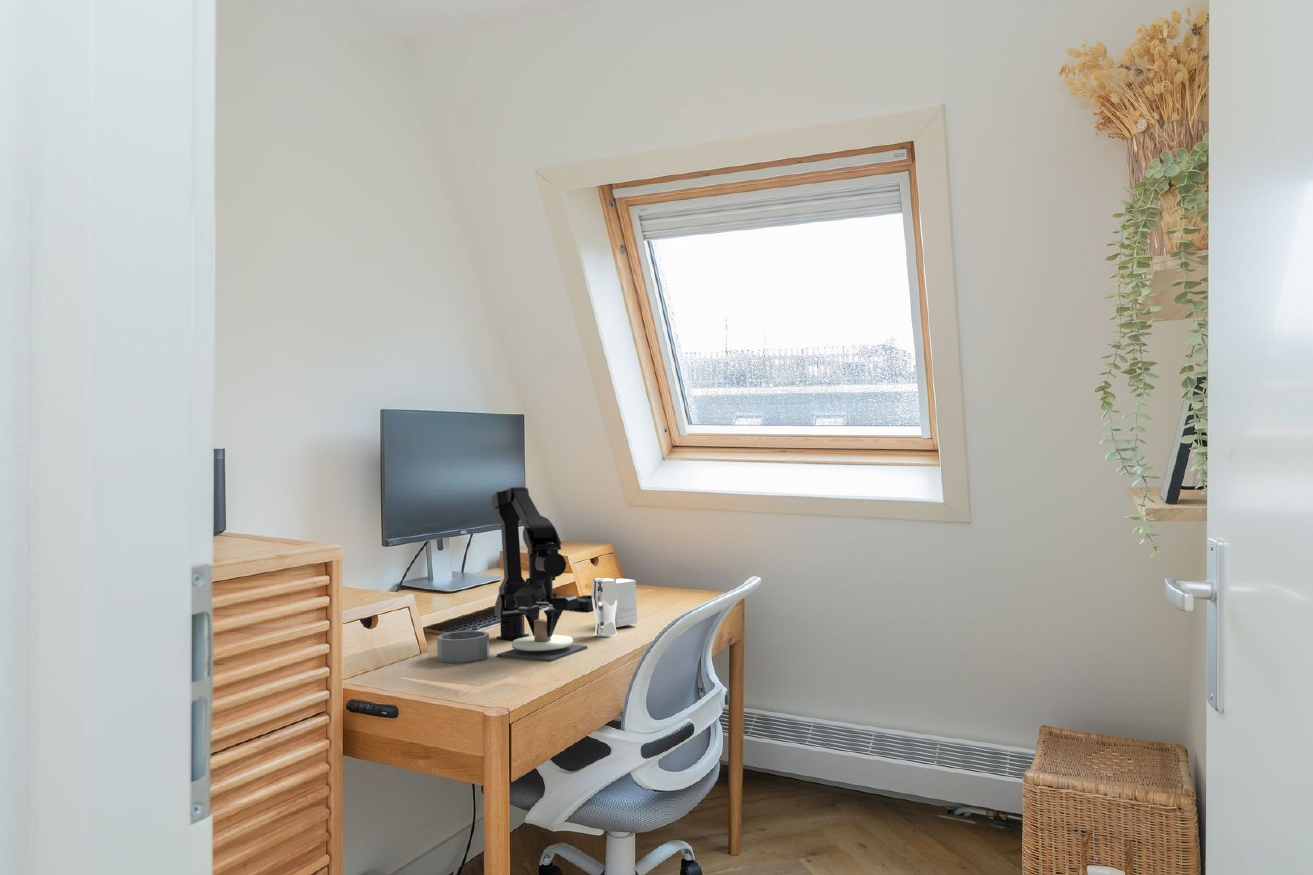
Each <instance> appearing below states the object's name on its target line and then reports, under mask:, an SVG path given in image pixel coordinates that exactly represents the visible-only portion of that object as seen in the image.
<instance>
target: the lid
mask: <svg viewBox="0 0 1313 875" xmlns="http://www.w3.org/2000/svg"><path fill="white" fill-rule="evenodd" d="M571 645H574V638H573V637H571V636H569V635H562V634H552V636H551V637H548V634H547V618H539V619H537V620H534V636H533V635H531V636H530V635H529V636H527V637H523V638H519V639H516V640H512V642H511V647H512V649H517V650H524V651H545V650H555V649H561V648H565V647H568V646H571Z"/></svg>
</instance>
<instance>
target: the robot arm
mask: <svg viewBox="0 0 1313 875" xmlns="http://www.w3.org/2000/svg"><path fill="white" fill-rule="evenodd" d="M491 508H492V509H493V514H494V516H495V518H496V519H497V521H498V523H499V524H500V529H501V530H500V531H501V545H502V562H503V579H502V582H501V584H500V585H499V588H498V595H497V598H496V600H495V604H494V607H493V609H494V616H496V617H499V618H500V624H499V625H500V635H498V636H496V639H497V640H499V639H500V640H510V641H511V640H512V641H514V640H516V639H519V638H523V637H529V636H530V633H525V618H526V621H527V622H528V626H529V628H530V630H531V631H530V632H532V633H531V634H532V636H534V620H537V619H540V609H541V608H540V607H541V606H548V609H545V610H543V613H544V614H545V616H546V619H547V634H548V637H551V636H552V635H554V634H553V633H554V631H555V628H556V627H557V623H558V622H559V620H560V617H561V615H562V614H563V612H564V611H570V610H569V609H573V608H576V607H579V600H578V598H577V597H578V596H576V595H569V594H568V595H567V594H566V595H565V594H564V595H559V596H557V592H554V587H553V586H554V585H553V582H554V581H556V578H557V577H560V576H561V575H563V574H564V572H565V571H566V568H567V561H566V559H565V558H564V556H563V555H562V554H561V553H559V551H560V550H562V547H561V545H562V541H561V539H560V536H559V534H558V532H557V529H556V527H555V526H554V524H553V523H552V521H550V519H549V518H547V517H545V516H542V515H541V514H540V512H539V511H538V509H537V506H536V505H535V503H534V502H533V500H532V498H531V496H530V493H529V488H527V487H525V486H515V487H514V486H513V487H509V488H507V489H505V490H502V491H496V492H495V494H494V495H492V496H491ZM519 522H520V523H521V524H522V525H523V530H522V539H523V541H524V544H525V546H526V548H527V552H526V553H527V555H528V577H527V578H526V579H524V578H523V575H522V560H521V559H522V558H521V545H520V533H519V532H520V530H519Z"/></svg>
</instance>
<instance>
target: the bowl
mask: <svg viewBox="0 0 1313 875" xmlns="http://www.w3.org/2000/svg"><path fill="white" fill-rule="evenodd" d="M436 645H437V646H436V649H437V651H436V652H437V659H438V661H439V662H441V663H445V664H468V663H473V662H474V663H475V662H481V661H484V660H486V659H488V658H489V655H490V634H489V632H487V631H485V630H484V631H483V630H460V631H451V632H446V633H442V634H439V635H438V636H437V637H436Z"/></svg>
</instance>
